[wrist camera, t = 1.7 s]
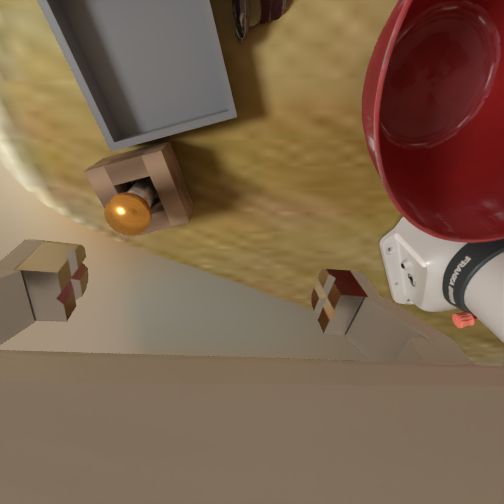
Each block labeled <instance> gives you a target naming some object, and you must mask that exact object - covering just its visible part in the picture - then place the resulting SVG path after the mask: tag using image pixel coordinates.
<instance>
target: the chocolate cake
mask: <svg viewBox="0 0 504 504" xmlns="http://www.w3.org/2000/svg"><path fill="white" fill-rule="evenodd" d="M286 1H287V0H232V5H233V14H234V15H235V21H236V33H235V35H236V38H237V40H238V41H240V42H242V41H243V38H244V37H246V36H247V33H248V26H249V27H250V26H255V24H256V23H266V22H269V21H271V20H276V19H279V18H280V17H281V15H282V13H283V12H284V11H285V7H286Z"/></svg>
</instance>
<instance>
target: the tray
mask: <svg viewBox="0 0 504 504" xmlns="http://www.w3.org/2000/svg"><path fill="white" fill-rule="evenodd" d="M37 1H38V3H39V5H40V7H41V9H42V11H43V13H44V15H45V17H46V19H47V21H48V23H49V25H50V28H51V30H52V32H53V34H54V36H55V38H56V40H57V42H58V44H59V46H60V48H61V50H62V52H63V54H64V56H65V58H66V60H67V62H68V64H69V66H70V68H71V71H72V73H73V75H74V77H75V79H76V81H77V83H78V85H79V87H80V89H81V91H82V93H83V95H84V97H85V99H86V101H87V103H88V105H89V107H90V109H91V111H92V114H93V116H94V118H95V120H96V122H97V124H98V126H99V128H100V130H101V132H102V134H103V136H104V138H105V140H106V142H107V144H108V146H109V148H110V150H111V151H114V150H118V149H122V148H125V147H129V146H133V145H136V144H140V143H144V142H148V141H151V140H155V139H159V138H162V137H166V136H170V135H173V134H177V133H181V132H184V131H188V130H192V129H195V128H199V127H203V126H206V125H210V124H214V123H217V122H221V121H225V120H228V119H232V118H236V117H237V113H236V109H235V105H234V101H233V97H232V92H231V88H230V84H229V80H228V76H227V71H226V67H225V63H224V59H223V55H222V51H221V46H220V42H219V38H218V34H217V30H216V26H215V21H214V17H213V13H212V9H211V5H210V0H37Z"/></svg>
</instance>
